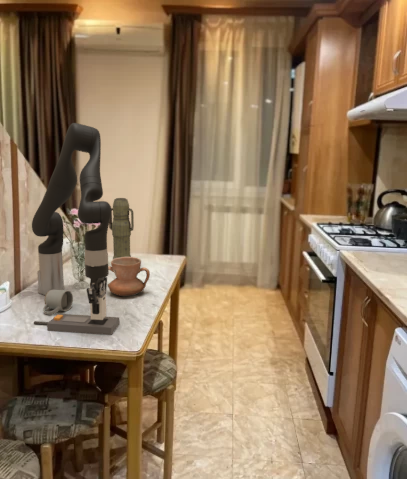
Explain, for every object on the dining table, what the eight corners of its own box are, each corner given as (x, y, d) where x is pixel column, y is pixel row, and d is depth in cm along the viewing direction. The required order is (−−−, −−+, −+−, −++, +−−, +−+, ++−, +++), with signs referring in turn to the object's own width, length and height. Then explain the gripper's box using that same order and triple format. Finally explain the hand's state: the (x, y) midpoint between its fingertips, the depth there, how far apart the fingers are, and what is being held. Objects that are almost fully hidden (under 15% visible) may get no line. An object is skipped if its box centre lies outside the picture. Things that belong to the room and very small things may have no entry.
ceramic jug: (102, 298, 186) (101, 264, 183) (110, 287, 200) (109, 255, 197) (147, 299, 185) (146, 265, 182) (152, 288, 199) (151, 256, 196)
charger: (90, 319, 155) (89, 293, 153) (94, 314, 159) (94, 289, 157) (102, 320, 154) (102, 294, 152) (106, 315, 158) (106, 290, 156)
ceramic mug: (55, 304, 179) (54, 285, 177) (74, 307, 176) (72, 287, 174) (37, 314, 169) (36, 294, 167) (56, 317, 166) (55, 297, 164)
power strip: (27, 329, 155) (26, 319, 155) (39, 318, 164) (39, 310, 163) (111, 334, 152) (111, 325, 151) (119, 324, 161) (119, 315, 160)
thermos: (112, 267, 230) (110, 197, 222) (135, 268, 229) (135, 197, 221) (107, 272, 221) (105, 199, 213) (132, 273, 220) (131, 200, 213)
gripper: (93, 256, 160) (94, 303, 163) (77, 267, 146) (79, 318, 149) (114, 257, 159) (115, 304, 162) (100, 268, 145) (102, 320, 149)
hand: (98, 311), depth 156 cm, fingers closed on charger, 4 cm apart
